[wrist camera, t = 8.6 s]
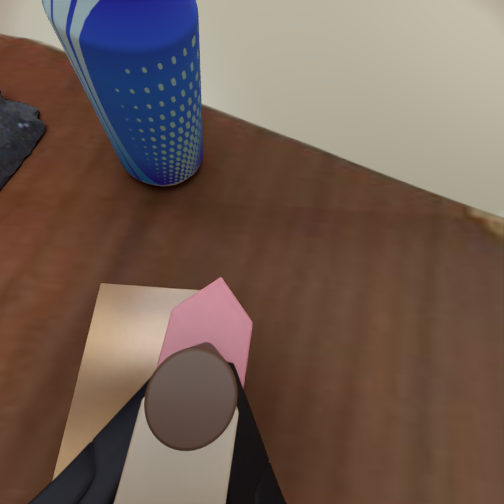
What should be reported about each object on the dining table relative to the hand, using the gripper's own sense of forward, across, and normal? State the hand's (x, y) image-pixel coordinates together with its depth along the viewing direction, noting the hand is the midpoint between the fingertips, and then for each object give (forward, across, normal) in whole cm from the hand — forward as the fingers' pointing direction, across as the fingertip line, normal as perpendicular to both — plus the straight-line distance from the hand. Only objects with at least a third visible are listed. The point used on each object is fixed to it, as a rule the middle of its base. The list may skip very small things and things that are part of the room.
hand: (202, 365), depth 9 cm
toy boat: (+4, 0, +6) cm, 7 cm away
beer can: (+23, +9, -4) cm, 25 cm away
